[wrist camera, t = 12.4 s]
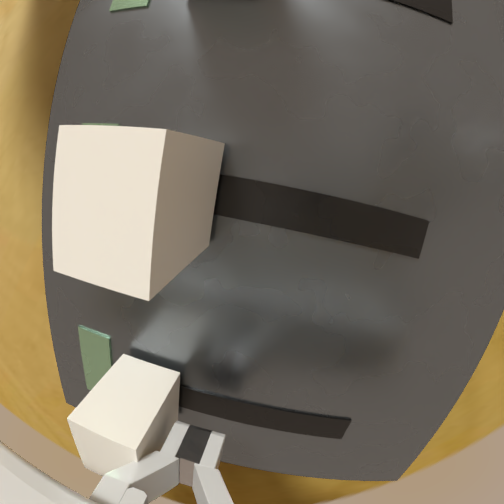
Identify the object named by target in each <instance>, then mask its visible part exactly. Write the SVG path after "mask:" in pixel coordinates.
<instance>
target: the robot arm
mask: <svg viewBox="0 0 504 504" xmlns="http://www.w3.org/2000/svg"><path fill="white" fill-rule="evenodd" d="M225 438H226V434H222V433H218V432H214V431H212V430H208V429H204V428H200V427H197V426H193V425H190V424H187V423H184V422H181V421H176V422H175V423H174V425H173V427H172V429H171V431H170V433H169V435H168V437H167V439H166V441H165V443H164V445H163V447H162V449H161V451H160V452H159V451H154V452H152V453H150V454H148V455H146V456H144V457H142V458H140V459H139V461H138V462H135V461H133V462H131V463H129V464H126V465H124V466H122V467H120V468H117V469H115V470H113V471H110V472H108V473H105V474H104V476H103V478H102V479H101V481H100V482H99V484H98V486H97V487H96V489H95V490H94V492H93V493H92V495H91V496H90V498H89V499H88V498H86V497H84V496H82V495H81V494H79V493H77V492H75V491H74V490H72V489H70V488H68V487H66V486H65V485H63V484H61V483H60V482H58V481H57V480H55V479H53V478H52V477H50V476H49V475H47V474H45V473H44V472H42V471H41V470H39V469H38V468H36V467H35V466H33V465H32V464H30V463H29V462H28V461H26V460H25V459H24V458H22V457H21V456H19V455H18V454H17V453H15V452H14V451H12V449H10V448H9V447H8V446H6V445H5V444H4V443H3V442H1V441H0V504H149V503H150V502H151V501H153V500H155V499H157V498H158V497H160V496H161V495H163V494H164V493H166V492H168V491H169V490H171V489H172V488H174V487H175V486H177V485H178V484H179V483H181V484H185V485H188V486H191V487H192V489H193V492H194V495H195V498H196V501H197V504H234V503H233V501H232V499H231V496H230V494H229V492H228V490H227V487H226V485H225V483H224V480H223V478H222V476H221V473H220V471H219V470H218V468H219V464H220V461H221V456H222V452H223V448H224V443H225Z"/></svg>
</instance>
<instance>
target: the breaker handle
mask: <svg viewBox="0 0 504 504" xmlns="http://www.w3.org/2000/svg"><path fill="white" fill-rule="evenodd" d="M179 388H180V372H177V371H174V370H170V369H167V368H164V367H161V366H158V365H155V364H152V363H149V362H146V361H143V360H140V359H137V358H134V357H131V356H128V355H126V354H123V355H122V356H121V357H120V358H119V359H118V360H117V361H116V362H115V364H114V365H113V366H112V367H111V368H110V369H109V370H108V372H107V373H106V374H105V375H104V376H103V377H102V378H101V380H100V381H99V382H98V383H97V384H96V385H95V386H94V388H93V389H92V390H91V391H90V392H89V393H88V394H87V396H86V397H85V398H84V399H83V400H82V401H81V403H80V404H79V405H78V406H77V407H76V408H75V410H74V411H73V412H72V413H71V414H70V415H69V417H68V418H67V420H68V423H69V426H70V429H71V432H72V435H73V438H74V441H75V444H76V446H77V449H78V452H79V454H80V457H81V459H82V462H83V464H84V467H85V468H87V469H89V470H91V471H93V472H95V473H97V474H99V475H101V476H104V474H105V473H108V472H110V471H113V470H115V469H117V468H120V467H122V466H124V465H126V464H129V463H131V462H133V461H135V462H138V461H139V459H140V458H142V457H144V456H146V455H148V454H150V453H152V452H154V451H159V452H160V451H161V449H162V447H163V445H164V443H165V441H166V439H167V437H168V435H169V433H170V431H171V429H172V427H173V425H174V423H175V422H176V421H178V408H179Z"/></svg>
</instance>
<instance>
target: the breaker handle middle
mask: <svg viewBox="0 0 504 504" xmlns="http://www.w3.org/2000/svg"><path fill="white" fill-rule="evenodd" d="M224 145H225V143H222V142H218V141H214V140H210V139H206V138H202V137H198V136H194V135H190V134H185V133H181V132H177V131H172V130H168V129H158V128H144V127H128V126H104V125H59V131H58V139H57V148H56V157H55V168H54V182H53V203H52V250H53V271H56V272H59V273H61V274H64V275H67V276H70V277H73V278H76V279H79V280H82V281H85V282H88V283H91V284H94V285H97V286H100V287H104V288H107V289H110V290H113V291H116V292H120V293H123V294H126V295H130V296H133V297H136V298H140V299H143V300H147V301H150V300H151V299H152V298H153V297H154V296H155V295H156V294H157V293H158V292H159V291H160V290H162V289H163V288H164V287H165V286H166V285H167V284H168V283H169V282H170V281H171V280H172V279H173V278H174V277H175V276H176V275H178V274H179V273H180V272H181V271H182V270H183V269H184V268H185V267H186V266H187V265H188V264H189V263H191V262H192V261H193V260H194V259H195V258H196V257H197V256H198V255H199V254H200V253H201V252H203V251H204V250H205V249H206V248H207V247H208V246H209V242H210V234H211V227H212V221H213V214H214V207H215V200H216V194H217V188H218V181H219V175H220V169H221V163H222V157H223V151H224Z"/></svg>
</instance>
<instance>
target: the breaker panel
mask: <svg viewBox="0 0 504 504" xmlns="http://www.w3.org/2000/svg"><path fill="white" fill-rule="evenodd" d="M59 125H104V126H128V127H144V128H158V129H168V130H172V131H177V132H181V133H185V134H190V135H194V136H198V137H202V138H206V139H210V140H214V141H218V142H222V143H225V145H224V151H223V157H222V163H221V169H220V175H219V181H218V188H217V194H216V200H215V207H214V214H213V221H212V227H211V234H210V242H209V246H208V247H207V248H206V249H205V250H204V251H203V252H201V253H200V254H199V255H198V256H197V257H196V258H195V259H194V260H193V261H192V262H191V263H189V264H188V265H187V266H186V267H185V268H184V269H183V270H182V271H181V272H180V273H179V274H178V275H176V276H175V277H174V278H173V279H172V280H171V281H170V282H169V283H168V284H167V285H166V286H165V287H164V288H163V289H162V290H160V291H159V292H158V293H157V294H156V295H155V296H154V297H153V298H152V299H151V300H150V301H147V300H143V299H140V298H136V297H133V296H130V295H126V294H123V293H120V292H116V291H113V290H110V289H107V288H104V287H100V286H97V285H94V284H91V283H88V282H85V281H82V280H79V279H76V278H73V277H70V276H67V275H64V274H61V273H59V272H56V271H53V250H52V203H53V182H54V168H55V157H56V148H57V139H58V131H59ZM42 248H43V267H44V280H45V291H46V300H47V308H48V316H49V323H50V329H51V335H52V341H53V346H54V352H55V357H56V362H57V366H58V371H59V375H60V380H61V384H62V388H63V392H64V395H65V399H66V403H68V404H70V405H72V406H74V407H77V406H78V405H79V404H80V403H81V401H82V400H83V399H84V398H85V397H86V396H87V394H88V393H89V392H90V391H91V390H92V389H93V388H94V386H95V385H96V384H97V383H98V382H99V381H100V380H101V378H102V377H103V376H104V375H105V374H106V373H107V372H108V370H109V369H110V368H111V367H112V366H113V365H114V364H115V362H116V361H117V360H118V359H119V358H120V357H121V356H122V355H123V354H126V355H128V356H131V357H134V358H137V359H140V360H143V361H146V362H149V363H152V364H155V365H158V366H161V367H164V368H167V369H170V370H174V371H177V372H180V388H179V408H178V421H181V422H184V423H187V424H190V425H193V426H197V427H200V428H204V429H208V430H212V431H214V432H218V433H222V434H226V438H225V443H224V448H223V452H222V456H221V461H222V462H226V463H231V464H235V465H239V466H244V467H249V468H254V469H259V470H265V471H270V472H277V473H283V474H290V475H297V476H306V477H315V478H326V479H339V480H361V481H396V480H398V479H399V478H400V477H401V475H402V474H403V473H404V472H405V471H406V470H407V468H408V467H409V466H410V465H411V464H412V462H413V461H414V460H415V459H416V458H417V456H418V455H419V454H420V452H421V451H422V450H423V449H424V447H425V446H426V445H427V443H428V442H429V441H430V439H431V438H432V437H433V435H434V434H435V433H436V431H437V430H438V428H439V427H440V426H441V424H442V423H443V421H444V420H445V418H446V417H447V415H448V414H449V412H450V411H451V409H452V408H453V406H454V405H455V403H456V401H457V400H458V398H459V397H460V395H461V393H462V392H463V390H464V388H465V387H466V385H467V383H468V381H469V380H470V378H471V376H472V374H473V373H474V371H475V369H476V367H477V365H478V363H479V361H480V360H481V358H482V356H483V354H484V352H485V350H486V348H487V346H488V344H489V342H490V339H491V337H492V335H493V333H494V331H495V329H496V326H497V324H498V322H499V319H500V317H501V315H502V312H503V310H504V0H80V2H79V5H78V8H77V10H76V13H75V16H74V19H73V22H72V25H71V28H70V32H69V35H68V38H67V42H66V45H65V49H64V52H63V56H62V60H61V64H60V68H59V72H58V77H57V81H56V86H55V91H54V96H53V102H52V107H51V113H50V119H49V126H48V134H47V142H46V151H45V161H44V174H43V193H42Z"/></svg>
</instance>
